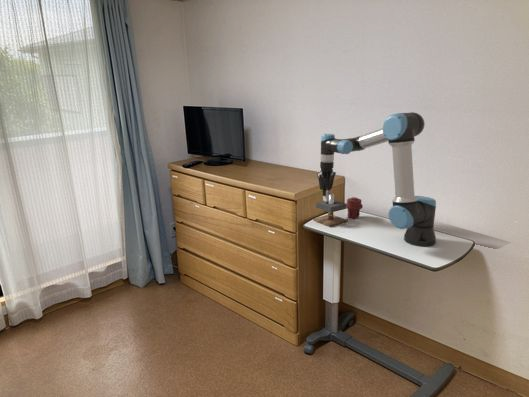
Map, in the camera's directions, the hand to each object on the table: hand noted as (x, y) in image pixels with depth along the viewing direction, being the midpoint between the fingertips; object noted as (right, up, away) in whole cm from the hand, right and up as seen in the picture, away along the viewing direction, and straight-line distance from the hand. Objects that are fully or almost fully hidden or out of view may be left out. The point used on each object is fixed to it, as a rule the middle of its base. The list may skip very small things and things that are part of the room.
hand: (325, 200), depth 237 cm
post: (+3, -11, -1) cm, 11 cm away
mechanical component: (+18, -10, +6) cm, 21 cm away
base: (+3, -12, -1) cm, 12 cm away
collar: (+3, -4, -3) cm, 6 cm away
